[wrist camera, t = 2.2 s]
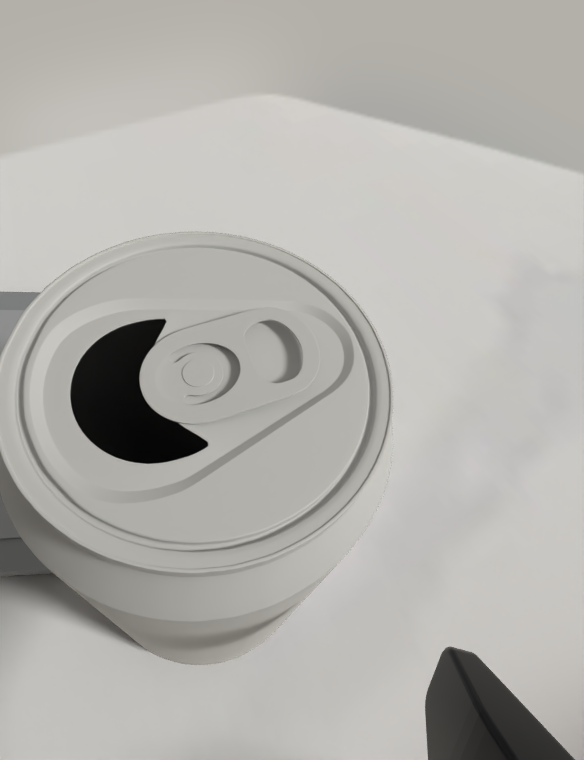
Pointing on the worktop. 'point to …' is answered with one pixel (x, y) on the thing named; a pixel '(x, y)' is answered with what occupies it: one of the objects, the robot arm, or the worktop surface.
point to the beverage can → (194, 436)
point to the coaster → (3, 543)
